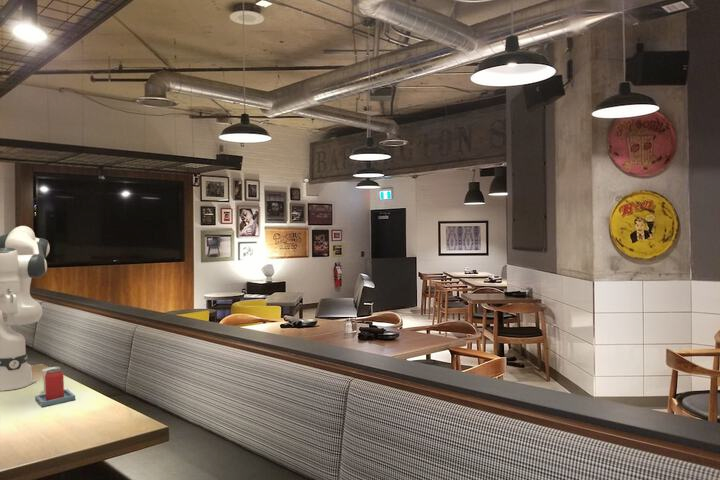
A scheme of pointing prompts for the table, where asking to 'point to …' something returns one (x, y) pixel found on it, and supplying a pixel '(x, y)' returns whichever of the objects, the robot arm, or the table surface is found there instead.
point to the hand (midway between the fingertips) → (8, 323)
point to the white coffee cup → (45, 374)
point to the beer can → (54, 384)
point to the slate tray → (44, 403)
